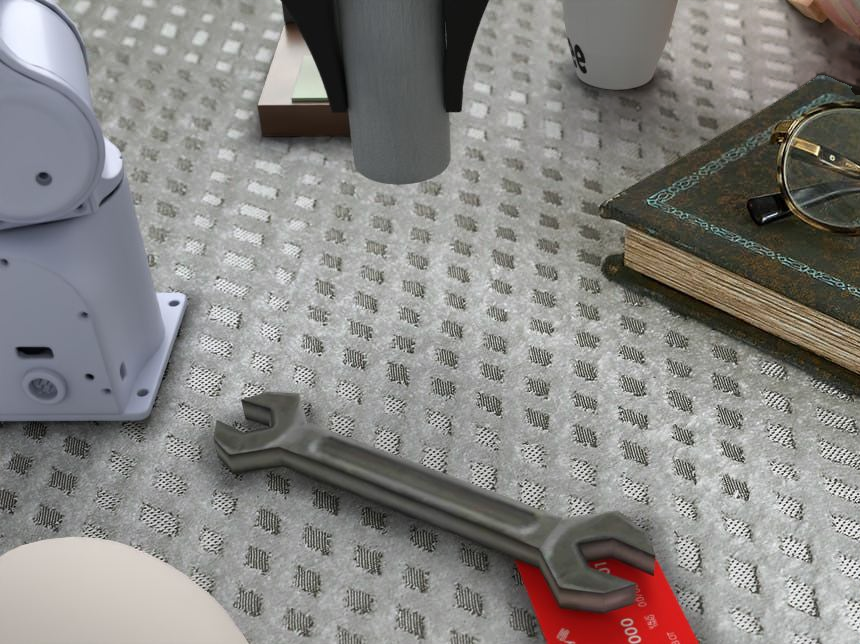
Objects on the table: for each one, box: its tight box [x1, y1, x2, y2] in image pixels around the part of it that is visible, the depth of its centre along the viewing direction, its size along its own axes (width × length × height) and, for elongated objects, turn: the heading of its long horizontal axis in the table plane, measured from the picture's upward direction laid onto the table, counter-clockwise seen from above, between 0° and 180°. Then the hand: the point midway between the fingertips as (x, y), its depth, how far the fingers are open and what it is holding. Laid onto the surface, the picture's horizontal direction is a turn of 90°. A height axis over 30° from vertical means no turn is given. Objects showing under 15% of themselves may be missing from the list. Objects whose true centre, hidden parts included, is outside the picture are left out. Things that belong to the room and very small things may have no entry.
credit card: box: [514, 557, 700, 644], centre depth 45 cm, size 8×5×1 cm, turn 15°
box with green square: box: [257, 2, 351, 137], centre depth 76 cm, size 13×10×4 cm
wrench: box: [212, 391, 656, 614], centre depth 48 cm, size 5×2×20 cm
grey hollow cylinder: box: [337, 0, 452, 186], centre depth 52 cm, size 4×4×10 cm
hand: (398, 102), depth 54 cm, fingers closed on grey hollow cylinder, 4 cm apart
